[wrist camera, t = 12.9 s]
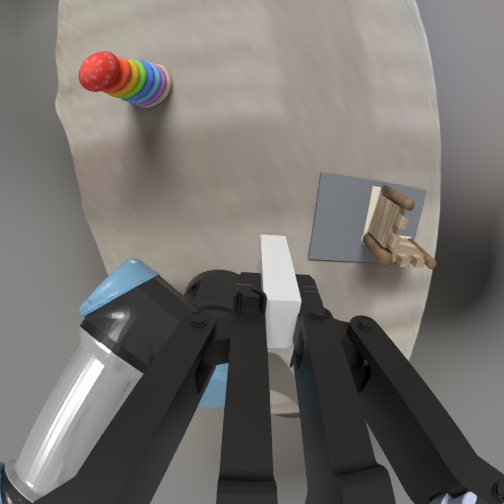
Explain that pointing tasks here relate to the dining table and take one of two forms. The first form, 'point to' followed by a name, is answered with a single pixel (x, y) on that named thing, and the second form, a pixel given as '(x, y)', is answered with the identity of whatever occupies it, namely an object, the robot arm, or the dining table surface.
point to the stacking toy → (126, 79)
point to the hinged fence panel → (390, 217)
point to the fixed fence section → (399, 253)
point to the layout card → (353, 217)
